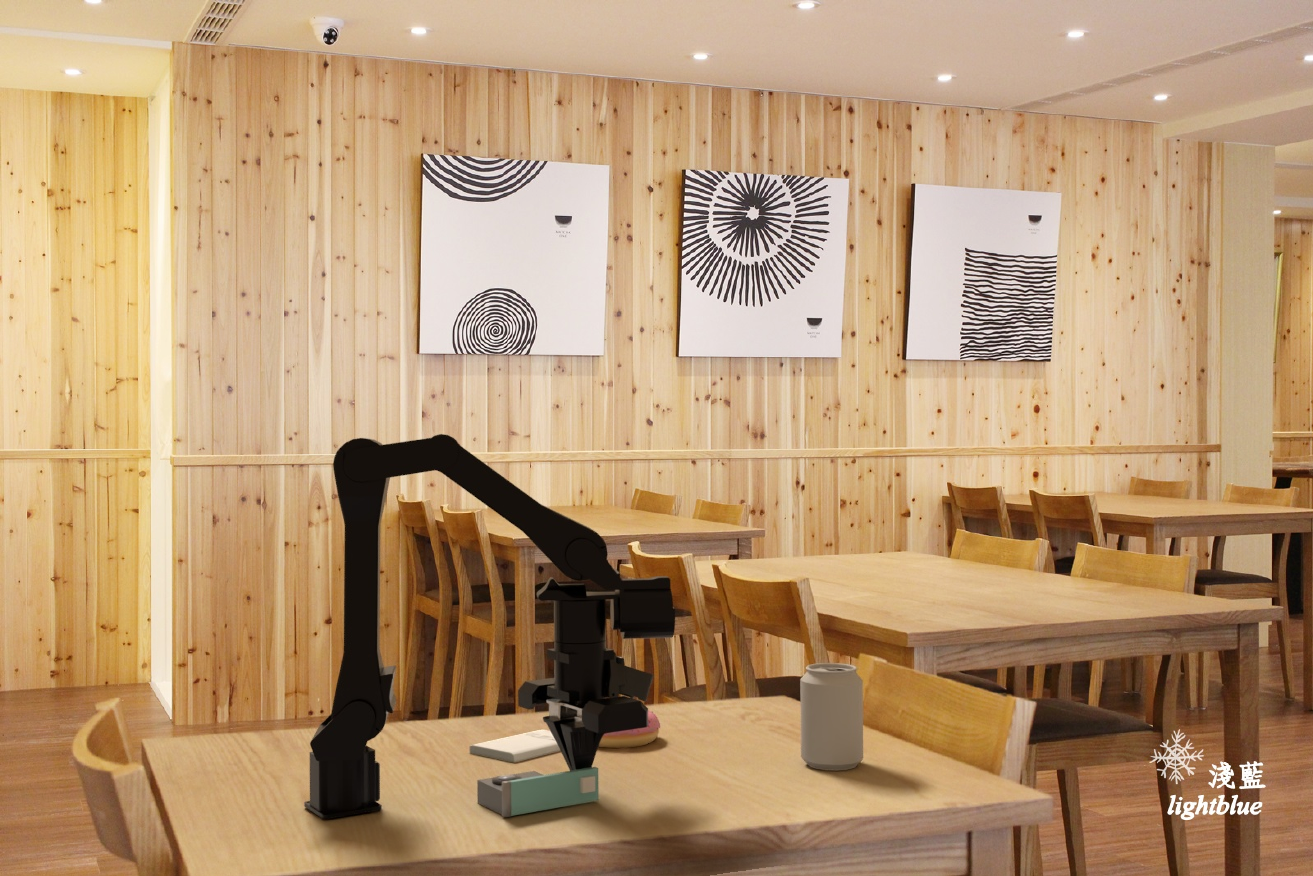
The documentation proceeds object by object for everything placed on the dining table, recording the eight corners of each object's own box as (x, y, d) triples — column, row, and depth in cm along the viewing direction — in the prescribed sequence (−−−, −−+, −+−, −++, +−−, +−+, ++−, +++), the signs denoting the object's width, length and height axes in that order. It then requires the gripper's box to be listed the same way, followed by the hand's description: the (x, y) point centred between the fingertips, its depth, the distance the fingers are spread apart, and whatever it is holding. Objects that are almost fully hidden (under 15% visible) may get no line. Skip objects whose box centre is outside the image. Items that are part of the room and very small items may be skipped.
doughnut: (659, 732, 181) (658, 701, 181) (662, 750, 170) (661, 718, 170) (578, 733, 181) (578, 702, 181) (576, 752, 170) (576, 719, 170)
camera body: (502, 815, 140) (502, 787, 140) (477, 803, 145) (477, 775, 145) (560, 805, 144) (560, 777, 144) (534, 793, 149) (534, 766, 149)
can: (875, 764, 162) (874, 665, 162) (839, 775, 156) (838, 673, 156) (825, 754, 167) (824, 658, 167) (788, 765, 161) (787, 666, 162)
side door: (506, 818, 139) (506, 784, 139) (500, 815, 140) (500, 781, 140) (600, 801, 145) (600, 769, 145) (594, 798, 146) (594, 766, 146)
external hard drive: (469, 757, 169) (539, 740, 179) (514, 766, 164) (583, 748, 173) (469, 744, 169) (539, 727, 179) (513, 753, 164) (583, 735, 173)
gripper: (689, 644, 143) (690, 789, 143) (598, 625, 159) (599, 756, 159) (600, 653, 137) (601, 805, 137) (515, 633, 153) (516, 769, 153)
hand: (581, 782), depth 147 cm, fingers closed
